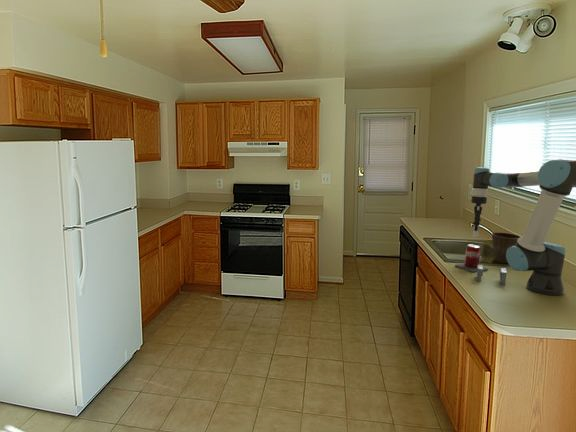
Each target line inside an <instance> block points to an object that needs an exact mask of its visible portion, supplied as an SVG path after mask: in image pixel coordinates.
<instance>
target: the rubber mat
mask: <svg viewBox="0 0 576 432" xmlns="http://www.w3.org/2000/svg"><path fill="white" fill-rule="evenodd" d="M455 266H456V268H459V269H460V268H461V270H463V269H464V270H463V271H467V272H469V273H471V274H473V273H477V269H478V268H468V267H466V266H465V263H459V264H454V267H455ZM487 270H488V271H489V268H487V267H485V266H483V272H486V271H487Z"/></svg>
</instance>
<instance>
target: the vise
mask: <svg viewBox="0 0 576 432" xmlns="http://www.w3.org/2000/svg"><path fill="white" fill-rule="evenodd" d="M483 267H484V266H483V265H482V264H479V265H478V269H477V272H476V282H480V283H481V281H482V277H483V274H484V271H483ZM507 273H508V271H507V268H505V267H501V268H500V269H499V282H500V285H501V286H506V284H507V283H506V282H507V276H508V275H507Z"/></svg>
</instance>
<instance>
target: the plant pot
mask: <svg viewBox="0 0 576 432" xmlns="http://www.w3.org/2000/svg"><path fill="white" fill-rule="evenodd" d="M491 235H492V237H491V238H492V241H491V242H492V249H493V250H492V251H493V254H494V255H493V256H494V258H495V259H494V260H495V261H496V262H497V263H498V262H499V263H503V264H508V261H507V258H506V252H507V250H508V248H509V247H512V246H515V245H516V243H517V240H518V239H519V238H522V237H521V236H520V235H517V234H514V233H507V232H493V233H492V234H491Z"/></svg>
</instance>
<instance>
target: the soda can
mask: <svg viewBox="0 0 576 432" xmlns="http://www.w3.org/2000/svg"><path fill="white" fill-rule="evenodd" d="M481 249H482V248H481V246H480V245H477V244H467V245H466V248H465V256H464V264H465V266H466V267H468V268H478V265H480V258H481Z"/></svg>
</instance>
